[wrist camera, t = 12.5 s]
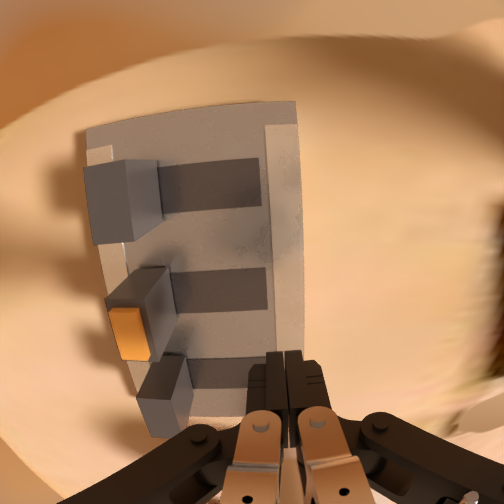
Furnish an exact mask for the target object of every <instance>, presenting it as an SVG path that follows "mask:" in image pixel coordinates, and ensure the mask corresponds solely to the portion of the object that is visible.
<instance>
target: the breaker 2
mask: <svg viewBox="0 0 504 504" xmlns="http://www.w3.org/2000/svg"><path fill="white" fill-rule="evenodd" d="M193 397H194V392H193V388H192V384H191V380H190V375H189V371H188V366H187V362H186V357H185V356H162V357H161V359H160V361H159V362H152V364H151V366H150V368H149V370H148V372H147V374H146V376H145V379H144V381H143V383H142V385H141V387H140V389H139V392H138V394H137V396H136V400H137V402H138V405H139V408H140V410H141V413H142V415H143V418H144V420H145V422H146V425H147V427H148V429H149V432H150V434H151V436H152V437H159V438H172V437H174V436H175V435H177V434H178V433H180V432H181V431H183V430H184V429H186V427H187V423H188V419H189V414H190V410H191V406H192V402H193Z"/></svg>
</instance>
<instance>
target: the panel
mask: <svg viewBox="0 0 504 504" xmlns="http://www.w3.org/2000/svg"><path fill="white" fill-rule="evenodd" d="M86 145H87V150H86V155H87V167H88V166H92V165H97V164H102V163H107V162H113V161H118V160H124V159H145V160H156V161H157V173H158V183H159V193H160V203H161V211H162V220H163V223H161V224H160V225H158V226H157V227H155V228H154V229H152V230H151V231H149V232H148V233H147V234H145V235H144V236H142V237H141V238H139V239H138V240H136V241H135V242H125V243H114V244H102V245H98V249H99V255H100V260H101V265H102V270H103V275H104V279H105V284H106V288H107V292H108V295H109V294H110V293H111V292H112V291H113V290H114V289H115V288H116V287H117V286H118V285H119V284H121V283H122V282H123V281H124V280H125V279H126V278H127V277H128V276H129V275H130V274H131V273H132V272H133V271H134V270H135V269H149V268H167V267H168V269H169V275H170V281H171V287H172V293H173V299H174V305H175V310H176V316H177V323H176V326H175V328H174V330H173V332H172V334H171V337H170V339H169V341H168V343H167V346H166V348H165V350H164V352H163V355H162V356H185V357H186V362H187V366H188V371H189V375H190V380H191V384H192V388H193V392H194V397H193V402H192V406H191V410H190V414H189V416H199V417H238V416H245V414H246V400H247V389H248V388H247V386H248V372H249V370H250V369H251V368H252V366H253V365H254V364H265V363H266V352H274V351H283V357H284V351H288V350H301V351H302V356H303V361H304V239H303V210H302V187H301V168H300V151H299V136H298V124H297V113H296V101H279V102H257V103H242V104H230V105H219V106H210V107H201V108H193V109H186V110H179V111H172V112H166V113H160V114H154V115H148V116H143V117H138V118H133V119H128V120H123V121H119V122H114V123H110V124H105V125H101V126H97V127H93V128H89V129H86ZM127 364H128V367H129V370H130V373H131V376H132V379H133V382H134V385H135V388H136V390H137V393H138V392H139V389H140V387H141V385H142V383H143V381H144V379H145V376H146V374H147V372H148V370H149V368H150V366H151V364H152V362H139V361H127ZM284 368H285V364H284Z"/></svg>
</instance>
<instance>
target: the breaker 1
mask: <svg viewBox="0 0 504 504" xmlns="http://www.w3.org/2000/svg"><path fill="white" fill-rule="evenodd" d="M83 170H84V180H85V189H86V198H87V206H88V213H89V220H90V226H91V233H92V238H93V244H94V245H102V244H114V243H125V242H135V241H136V240H138V239H139V238H141V237H142V236H144V235H145V234H147V233H148V232H149V231H151V230H152V229H154V228H155V227H157V226H158V225H160V224H161V223H163V220H162V211H161V203H160V193H159V183H158V173H157V161H156V160H145V159H124V160H118V161H113V162H107V163H102V164H97V165H92V166H88V167H83Z"/></svg>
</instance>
